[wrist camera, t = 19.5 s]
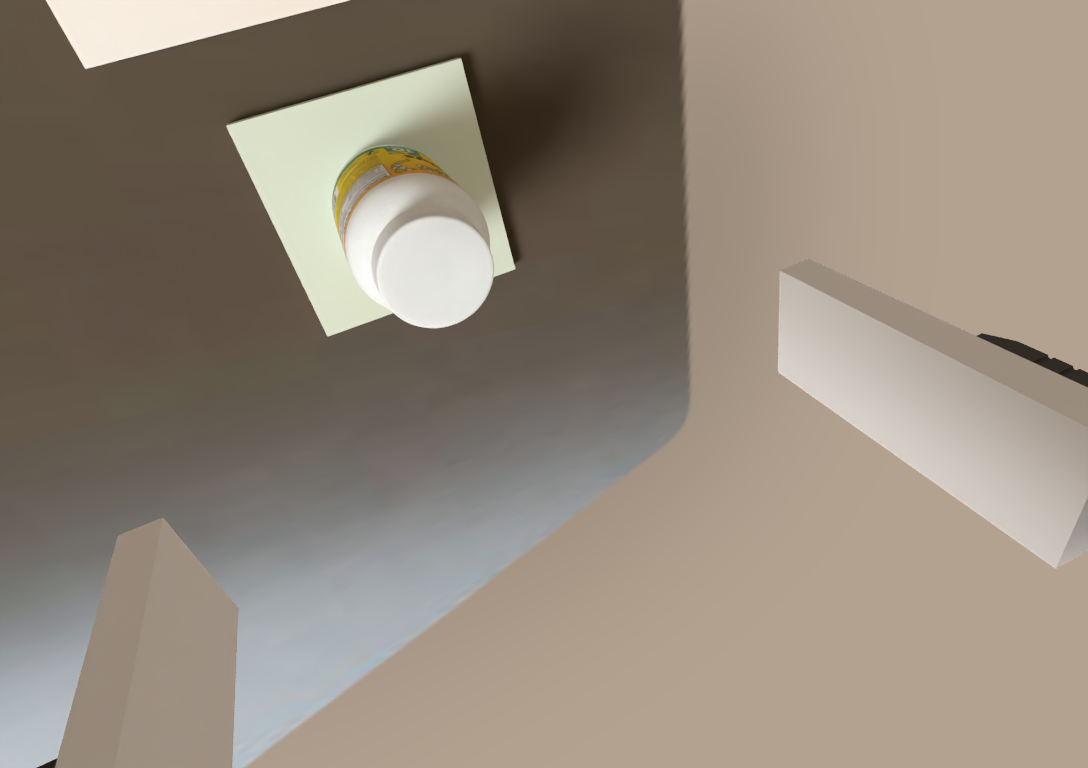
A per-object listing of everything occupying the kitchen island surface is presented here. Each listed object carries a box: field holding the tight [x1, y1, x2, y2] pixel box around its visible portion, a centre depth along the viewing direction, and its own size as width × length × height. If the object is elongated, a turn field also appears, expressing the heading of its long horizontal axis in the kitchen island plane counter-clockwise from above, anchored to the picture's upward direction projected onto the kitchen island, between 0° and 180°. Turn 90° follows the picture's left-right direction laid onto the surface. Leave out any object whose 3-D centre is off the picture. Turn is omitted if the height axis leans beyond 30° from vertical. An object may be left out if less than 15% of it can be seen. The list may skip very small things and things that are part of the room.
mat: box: [226, 58, 515, 336], centre depth 29 cm, size 10×10×1 cm
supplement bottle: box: [332, 145, 494, 328], centre depth 24 cm, size 5×5×10 cm
